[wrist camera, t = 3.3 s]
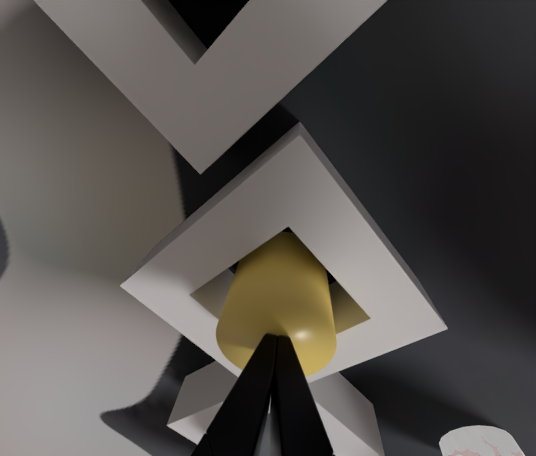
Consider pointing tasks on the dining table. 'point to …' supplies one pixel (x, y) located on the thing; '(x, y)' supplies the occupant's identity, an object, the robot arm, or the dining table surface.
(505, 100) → the dining table surface
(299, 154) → the hollow square frame
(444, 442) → the beverage cup
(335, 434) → the light gray housing
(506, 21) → the dining table surface
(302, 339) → the mustard button
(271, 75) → the offwhite housing
